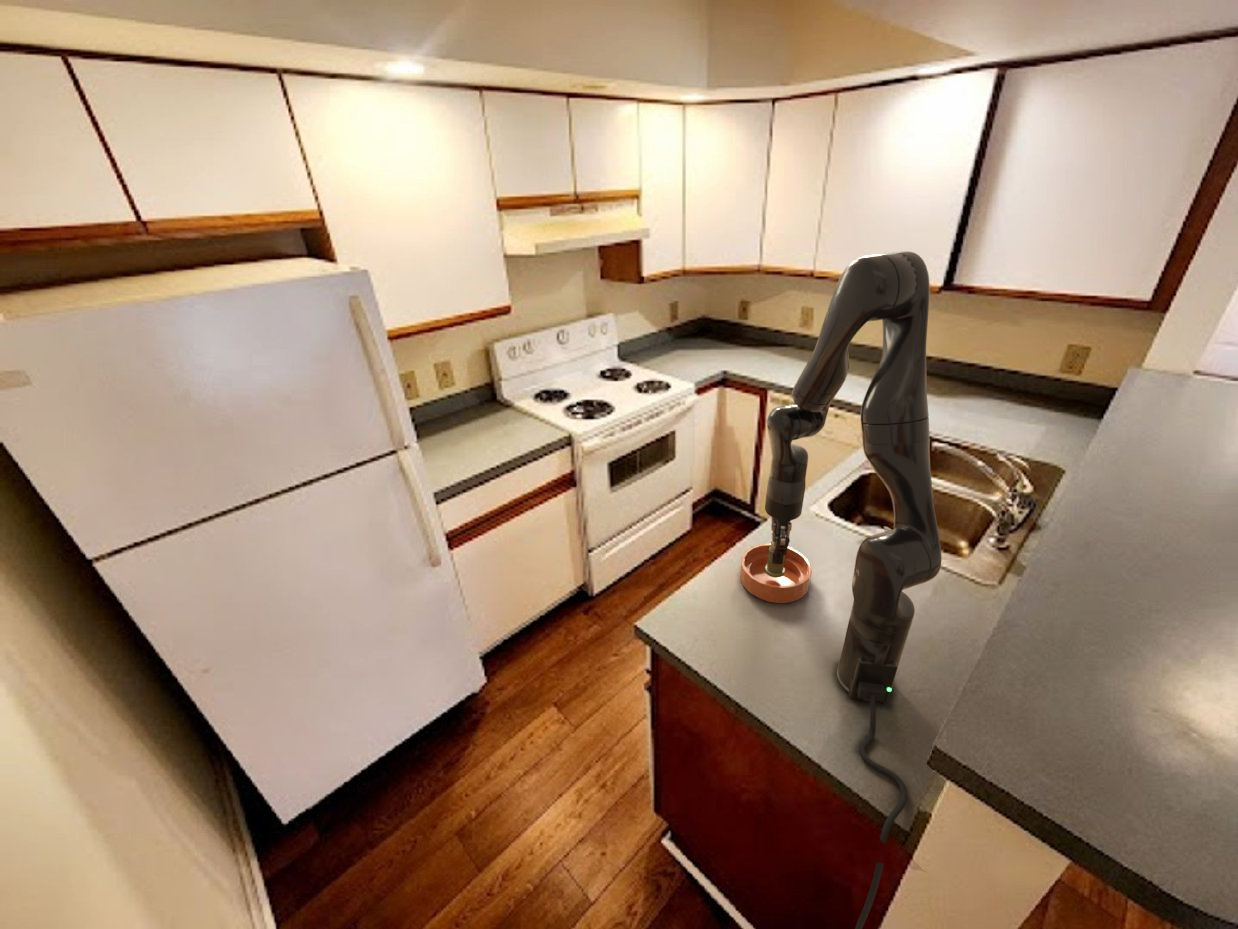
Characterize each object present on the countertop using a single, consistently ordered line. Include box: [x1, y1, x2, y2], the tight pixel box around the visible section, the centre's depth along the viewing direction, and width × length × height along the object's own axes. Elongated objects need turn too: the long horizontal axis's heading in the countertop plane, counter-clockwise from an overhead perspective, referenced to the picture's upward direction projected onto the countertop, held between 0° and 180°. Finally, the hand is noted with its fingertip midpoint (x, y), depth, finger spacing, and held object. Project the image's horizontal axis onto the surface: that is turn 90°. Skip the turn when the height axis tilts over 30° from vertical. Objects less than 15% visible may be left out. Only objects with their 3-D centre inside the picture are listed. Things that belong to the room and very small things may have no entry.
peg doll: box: [765, 540, 785, 577], centre depth 119 cm, size 4×4×9 cm
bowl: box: [740, 543, 813, 604], centre depth 122 cm, size 15×15×5 cm
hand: (776, 556), depth 120 cm, fingers closed on peg doll, 3 cm apart
